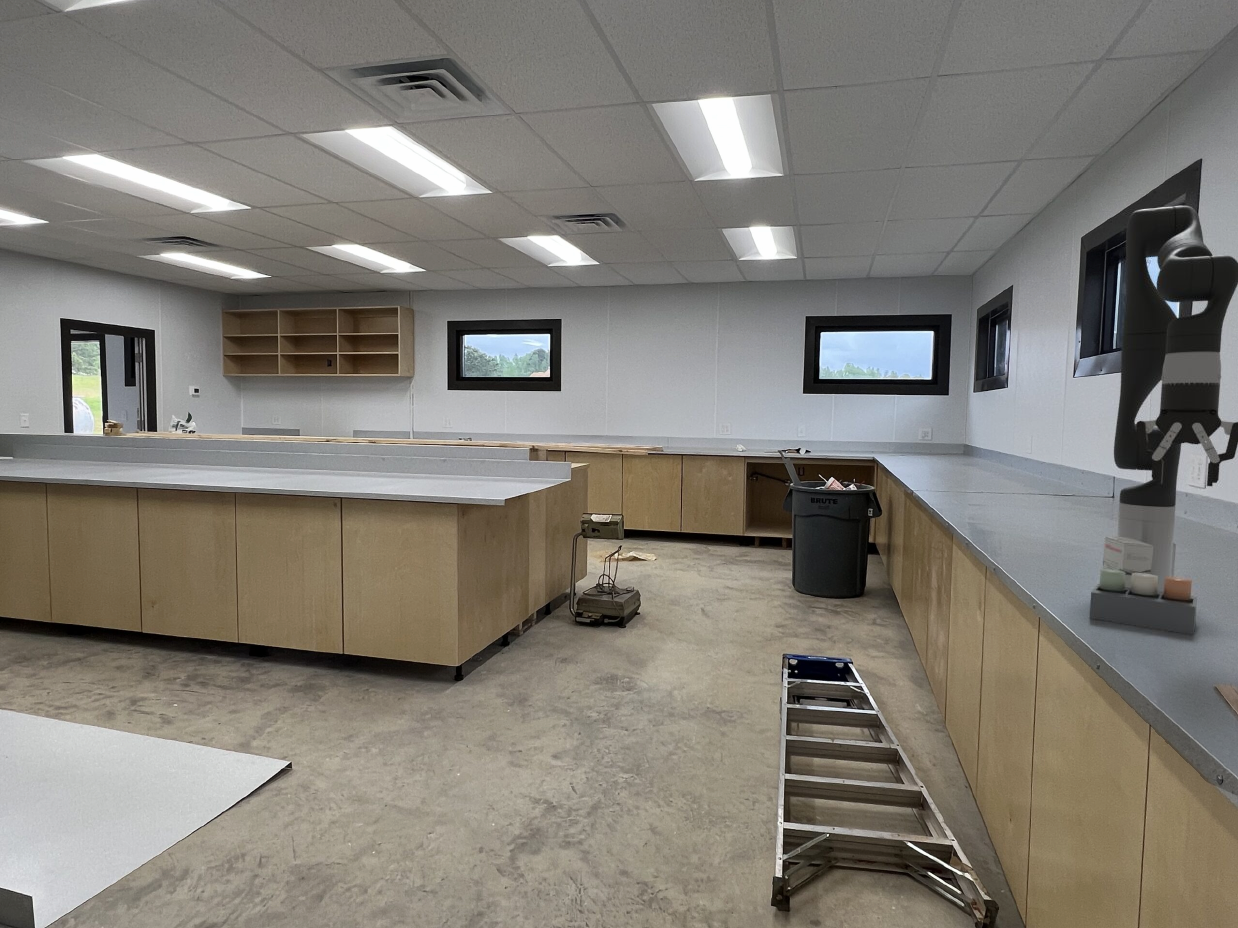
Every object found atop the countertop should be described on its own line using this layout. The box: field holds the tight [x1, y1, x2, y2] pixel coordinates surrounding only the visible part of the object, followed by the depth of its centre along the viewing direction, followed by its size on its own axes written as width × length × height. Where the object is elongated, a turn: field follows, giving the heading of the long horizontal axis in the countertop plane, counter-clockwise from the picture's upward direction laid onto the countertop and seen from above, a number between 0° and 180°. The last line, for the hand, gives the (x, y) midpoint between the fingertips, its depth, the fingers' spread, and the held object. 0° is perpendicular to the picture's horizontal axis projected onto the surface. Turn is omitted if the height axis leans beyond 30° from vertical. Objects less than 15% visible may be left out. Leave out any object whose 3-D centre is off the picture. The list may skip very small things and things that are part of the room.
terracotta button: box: [1163, 576, 1193, 600], centre depth 121 cm, size 4×4×3 cm
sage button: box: [1099, 568, 1125, 591], centre depth 127 cm, size 4×4×3 cm
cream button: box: [1131, 573, 1158, 595], centre depth 124 cm, size 4×4×3 cm
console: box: [1089, 583, 1198, 635], centre depth 125 cm, size 9×14×4 cm, turn 50°
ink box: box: [1101, 535, 1153, 588], centre depth 137 cm, size 9×5×12 cm, turn 168°
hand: (1183, 484), depth 120 cm, fingers open, 6 cm apart
